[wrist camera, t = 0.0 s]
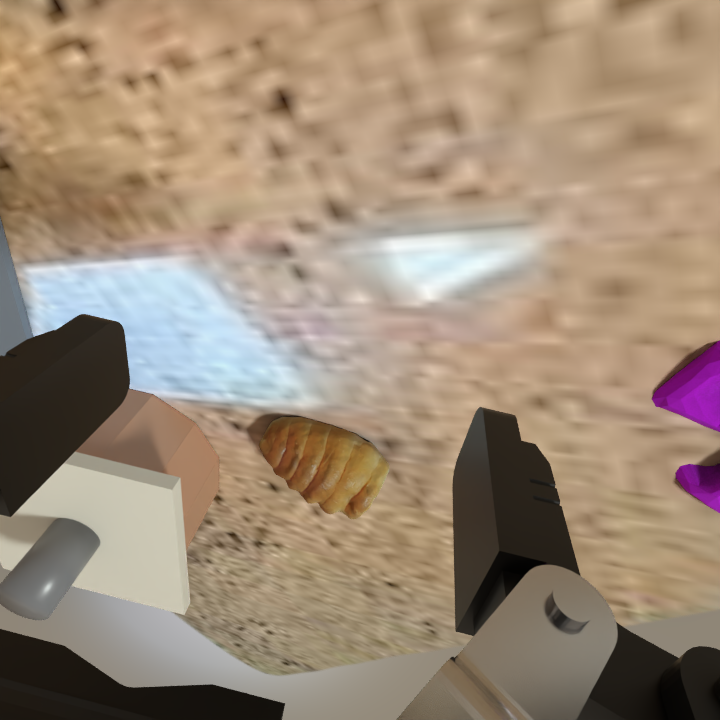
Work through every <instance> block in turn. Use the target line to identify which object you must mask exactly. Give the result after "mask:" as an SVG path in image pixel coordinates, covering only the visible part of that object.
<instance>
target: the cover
mask: <svg viewBox="0 0 720 720" xmlns="http://www.w3.org/2000/svg"><path fill="white" fill-rule="evenodd" d="M0 562H1V564H2V566H3V568H4V569H8V570H11V572H10V573H9V574H8V576H7V577H6V578H5V579H4V580H3V582H2V583H1V584H0V604H1V605H2V606H4V607H5V608H7V609H8V610H10V611H11V612H14V613H15V614H17V615H20V616H22V617H25V618H28V619H33V620H45V619H48V618H49V616H50V615H51V614H52V612H53V611H54V609H55V608H56V607H57V605H58V604H59V602H60V601H61V600H62V598H63V597H64V595H65V594H66V592H67V591H68V590H69V588H70V587H71V586H74V587H78V588H82V589H86V590H89V591H93V592H97V593H102V594H105V595H109V596H113V597H117V598H121V599H124V600H128V601H132V602H136V603H140V604H144V605H148V606H152V607H156V608H160V609H163V610H167V611H171V612H175V613H179V614H183V615H184V614H185V612H186V610H187V608H188V606H189V604H190V595H189V582H188V569H187V557H186V544H185V531H184V519H183V506H182V493H181V480H180V477H176V476H172V475H168V474H164V473H160V472H156V471H152V470H148V469H144V468H139V467H135V466H131V465H127V464H123V463H119V462H115V461H111V460H107V459H103V458H99V457H95V456H90V455H86V454H82V453H78V452H74V453H73V454H72V455H71V456H70V457H69V458H68V459H67V460H66V461H65V462H64V463H63V465H62V466H61V467H60V468H59V469H58V470H57V471H56V472H55V473H54V474H53V475H52V476H51V477H50V478H49V479H48V480H47V481H46V482H45V483H44V484H43V485H42V486H41V487H40V488H39V489H38V490H37V491H36V492H35V493H34V494H33V495H32V496H31V497H30V498H29V499H28V500H27V501H26V502H25V503H24V504H23V505H22V506H21V507H20V508H19V509H18V510H17V511H16V512H15V513H14V514H13V515H12V516H11V517H8V516H4V515H0Z"/></svg>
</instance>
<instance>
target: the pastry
mask: <svg viewBox="0 0 720 720" xmlns="http://www.w3.org/2000/svg"><path fill="white" fill-rule="evenodd" d="M259 447H260V449H261V451H262V452H263V456H264V457H265V459H266V460H267V462H268V463H269V464H270V465H271V466H272V467H273V470H274V472H275V474H276V475H278V476H280V477H282V478H284V479H285V480H286V482H287V484H288V487H289V488H290V489H293V490H296V491H299V493H300V494H301V496H303V498H304V499H305V500H306V502H307V503H311V504H312V503H319V505H320V507H321V508H322V509H323V510H324V511H325V512H326V513H328V514H333V513H336V512H339V511H340V512H343V513H344V514H345V515H347V516H348V517H349V518H350V519H357V518H358V517H360V516H361V515H362V514H364V513H365V512H366V511H367V510H368V509H369V508H370V506H371V504H372V502H373V500H374V498H376V497H377V495H378V493H379V491H380V489H381V487H382V485H383V483H384V481H385V479H386V476H387V473H388V472H389V464H388V463H387V461H386V460H385V459H384V457H383V456H382V455H381V454H380V452H379V451H378V450H377V448H376V447H375V446H374V445H373V444H372V443H371V442H367V441H365V440H363V439H362V438H360V437H359V436H358V435H357V434H355V433H352V432H349V431H347V430H345V429H340V428H337V427H335V426H333V425H328V424H325V423H321V422H318V421H315V420H311V419H308V418H303V417H281V418H278V419H276V420H274V421H272V423H271V424H270V425H269V426H268V428H267V430H266V432H265V434H264V436H263V438H262V439H261V441H260V443H259Z"/></svg>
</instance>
